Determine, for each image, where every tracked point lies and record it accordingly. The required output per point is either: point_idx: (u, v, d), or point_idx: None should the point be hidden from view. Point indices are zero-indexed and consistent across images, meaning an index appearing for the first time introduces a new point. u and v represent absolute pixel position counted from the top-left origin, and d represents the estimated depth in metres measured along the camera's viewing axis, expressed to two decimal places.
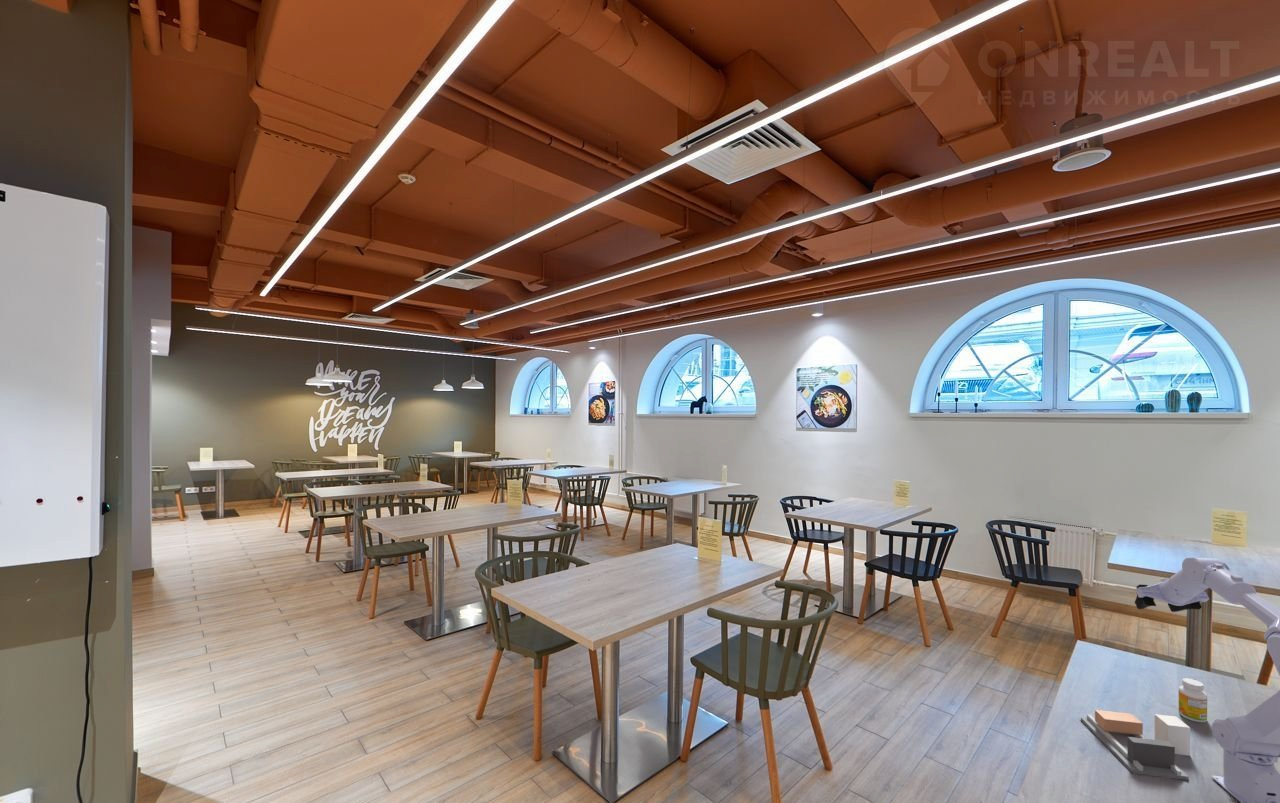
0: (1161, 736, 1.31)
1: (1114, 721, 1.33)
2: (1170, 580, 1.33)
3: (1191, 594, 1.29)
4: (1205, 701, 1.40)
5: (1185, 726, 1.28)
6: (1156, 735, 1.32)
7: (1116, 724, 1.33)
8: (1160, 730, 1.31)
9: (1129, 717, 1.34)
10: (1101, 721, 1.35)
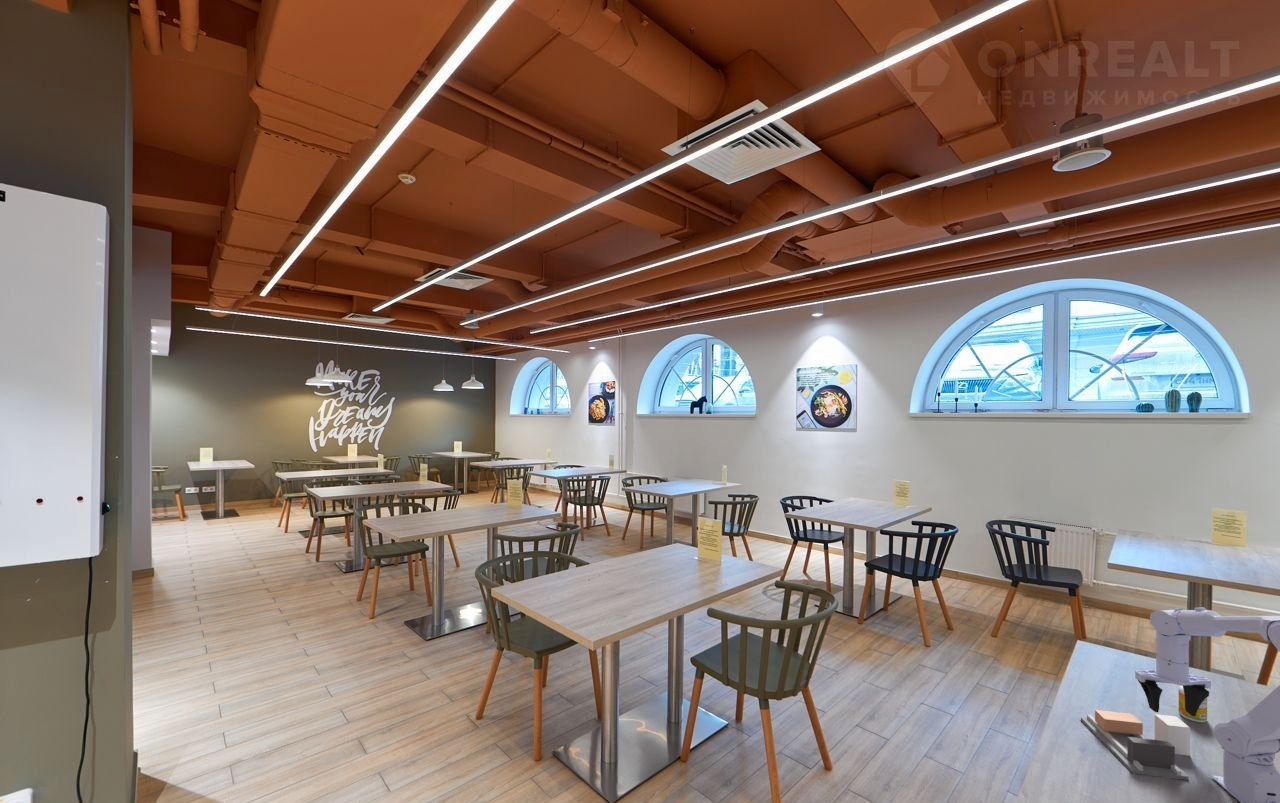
0: (1161, 736, 1.31)
1: (1114, 721, 1.33)
2: (1158, 654, 1.31)
3: (1183, 658, 1.27)
4: (1205, 701, 1.40)
5: (1185, 726, 1.28)
6: (1156, 735, 1.32)
7: (1116, 724, 1.33)
8: (1160, 730, 1.31)
9: (1129, 717, 1.34)
10: (1101, 721, 1.35)
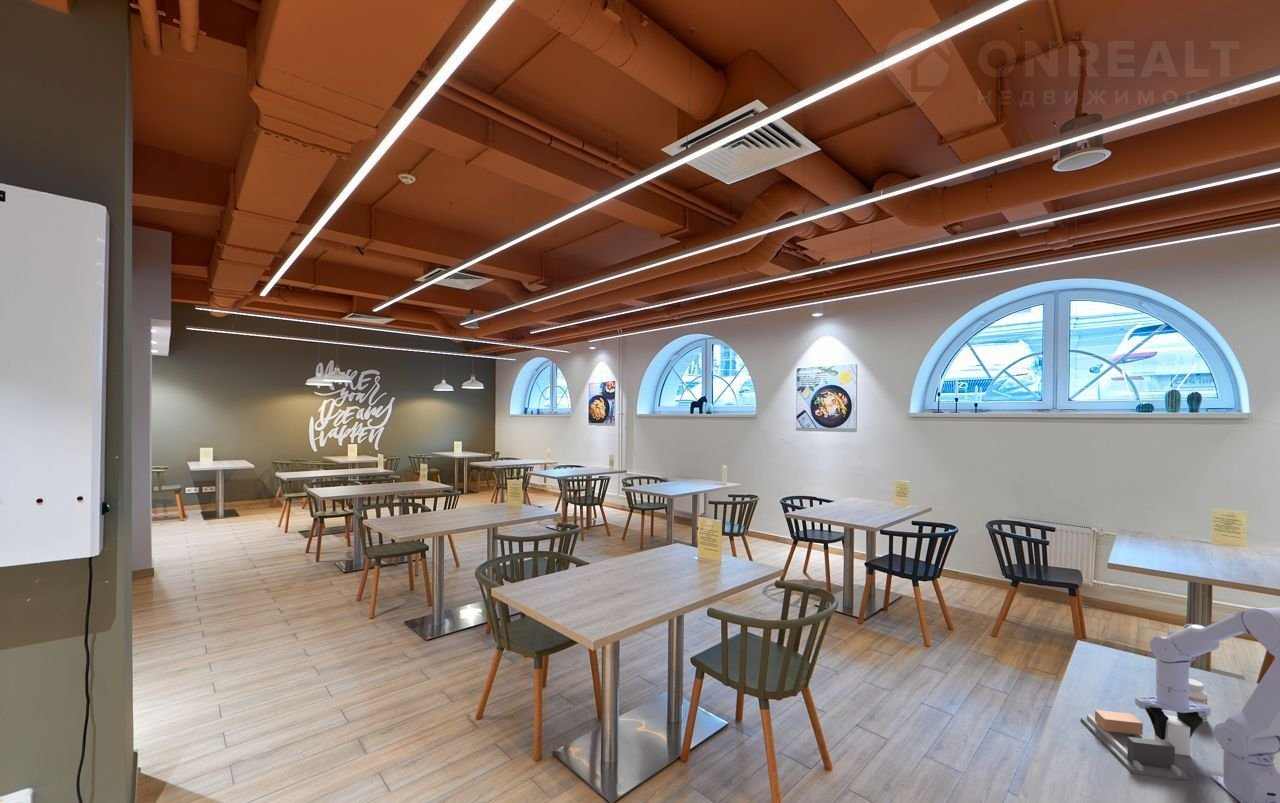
0: None
1: (1114, 721, 1.33)
2: (1158, 681, 1.31)
3: (1183, 685, 1.27)
4: (1205, 701, 1.40)
5: (1185, 726, 1.28)
6: None
7: (1116, 724, 1.33)
8: None
9: (1129, 717, 1.34)
10: (1101, 721, 1.35)
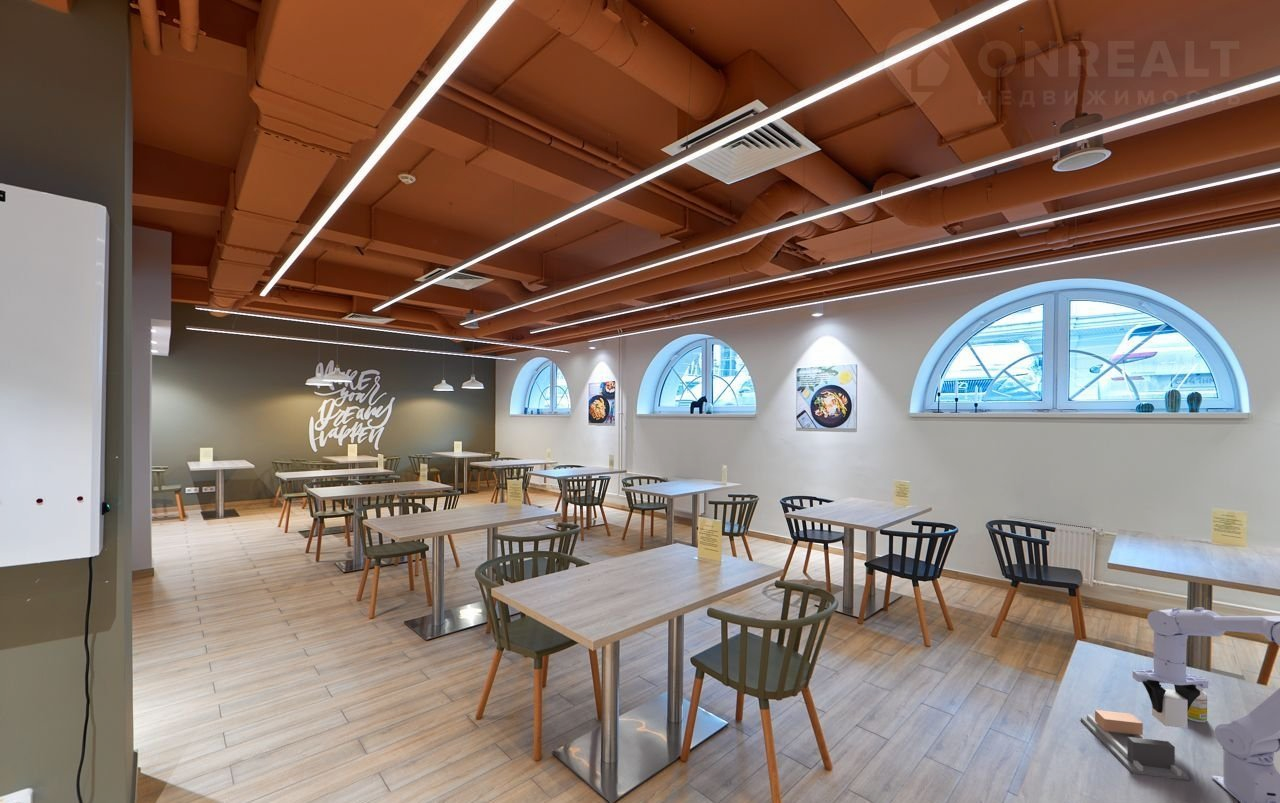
0: None
1: (1114, 721, 1.33)
2: (1156, 655, 1.30)
3: (1181, 658, 1.27)
4: (1205, 701, 1.40)
5: (1182, 699, 1.28)
6: None
7: (1116, 724, 1.33)
8: None
9: (1129, 717, 1.34)
10: (1101, 721, 1.35)
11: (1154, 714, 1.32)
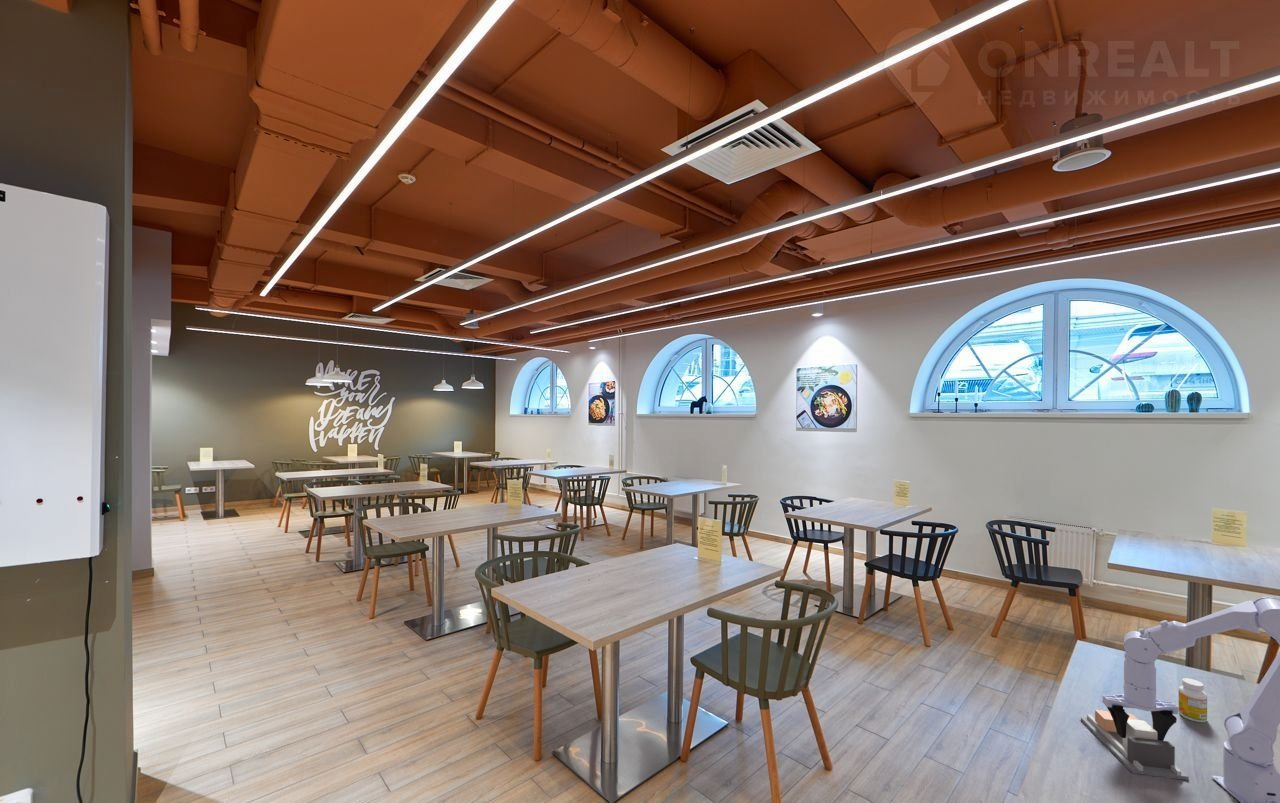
0: None
1: None
2: (1133, 683, 1.26)
3: (1155, 682, 1.25)
4: (1205, 701, 1.40)
5: (1152, 730, 1.25)
6: (1124, 740, 1.30)
7: None
8: (1128, 734, 1.28)
9: (1129, 717, 1.34)
10: (1101, 721, 1.35)
11: (1124, 745, 1.29)
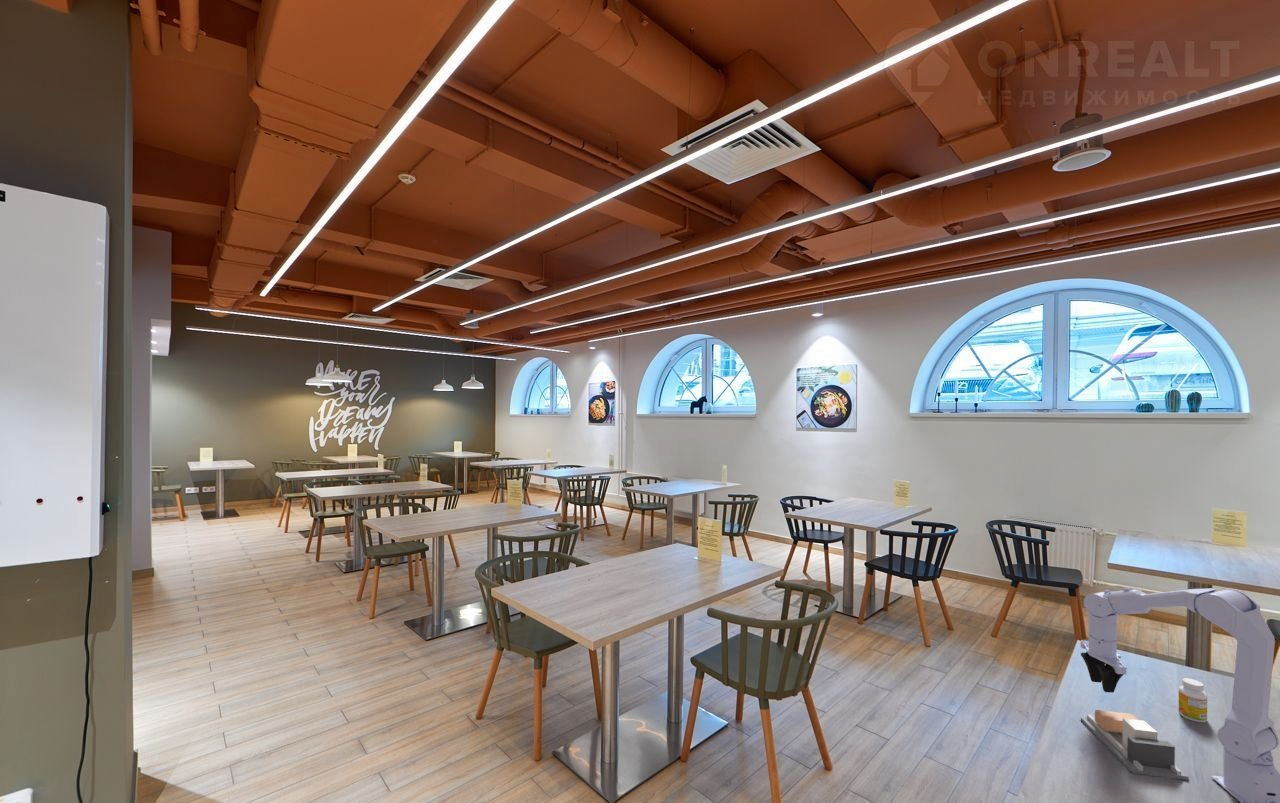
0: None
1: (1114, 721, 1.33)
2: (1091, 635, 1.41)
3: (1113, 636, 1.38)
4: (1205, 701, 1.40)
5: (1152, 730, 1.25)
6: (1124, 740, 1.30)
7: (1116, 724, 1.33)
8: (1128, 734, 1.28)
9: (1129, 717, 1.34)
10: (1101, 721, 1.35)
11: (1124, 745, 1.29)
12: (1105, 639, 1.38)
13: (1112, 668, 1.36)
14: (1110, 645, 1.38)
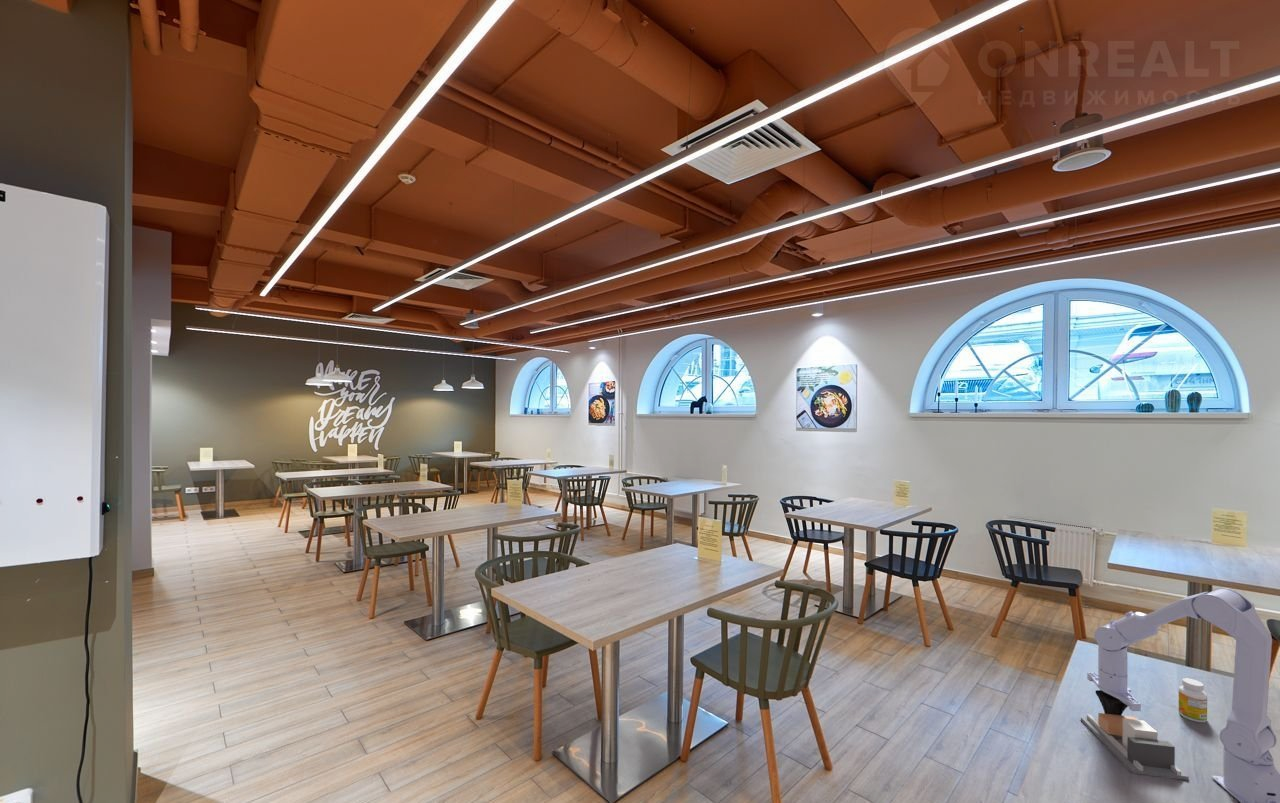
0: None
1: (1118, 725, 1.32)
2: (1102, 669, 1.37)
3: (1125, 671, 1.34)
4: (1205, 701, 1.40)
5: (1152, 730, 1.25)
6: (1124, 740, 1.30)
7: (1119, 727, 1.32)
8: (1128, 734, 1.28)
9: None
10: (1104, 724, 1.34)
11: (1124, 745, 1.29)
12: (1117, 674, 1.34)
13: (1125, 704, 1.32)
14: (1122, 680, 1.34)
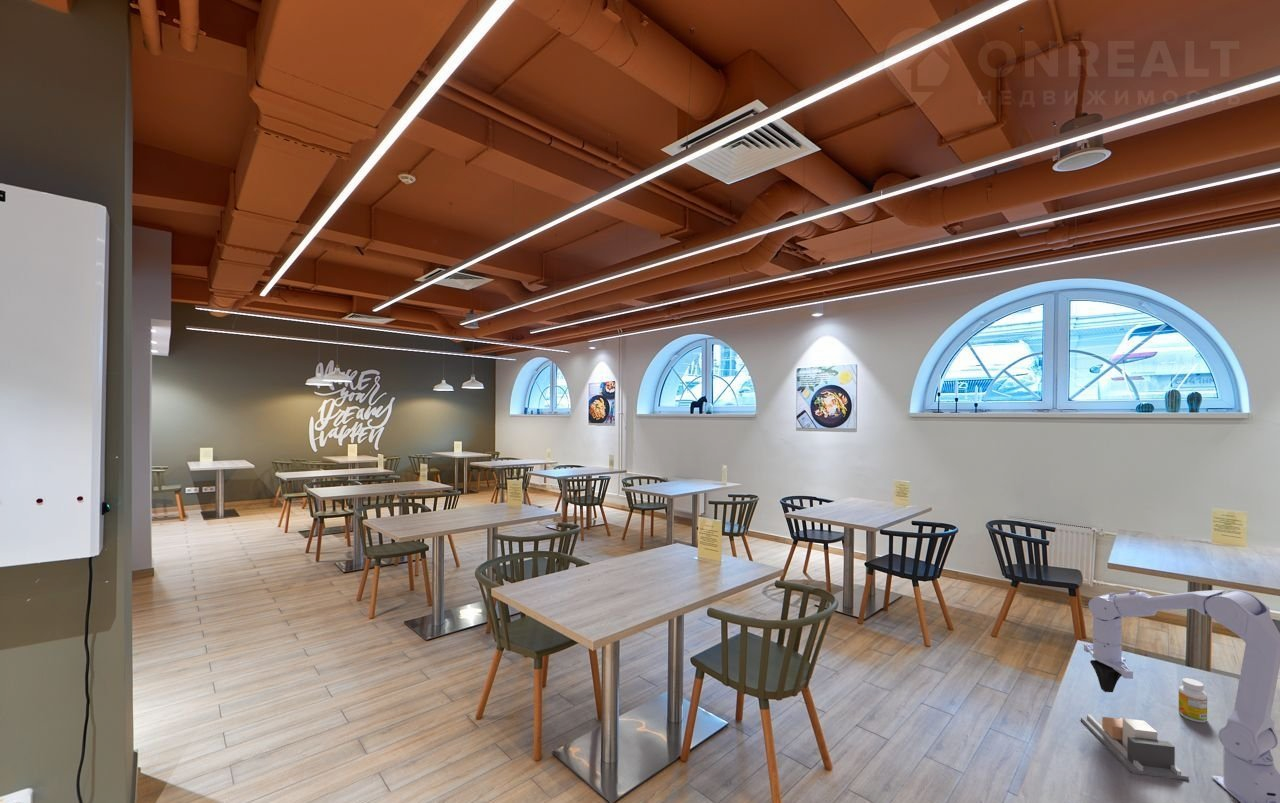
0: None
1: (1122, 729, 1.30)
2: (1096, 638, 1.39)
3: (1119, 640, 1.36)
4: (1205, 701, 1.40)
5: (1152, 730, 1.25)
6: (1124, 740, 1.30)
7: None
8: (1128, 734, 1.28)
9: None
10: (1109, 728, 1.32)
11: (1124, 745, 1.29)
12: (1111, 643, 1.36)
13: (1118, 672, 1.34)
14: (1115, 649, 1.36)
